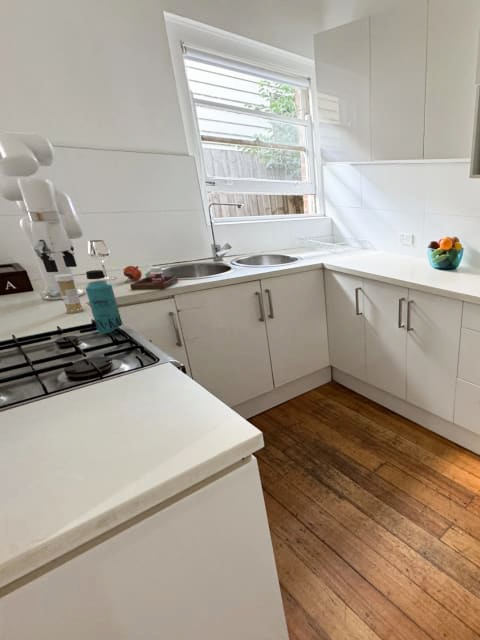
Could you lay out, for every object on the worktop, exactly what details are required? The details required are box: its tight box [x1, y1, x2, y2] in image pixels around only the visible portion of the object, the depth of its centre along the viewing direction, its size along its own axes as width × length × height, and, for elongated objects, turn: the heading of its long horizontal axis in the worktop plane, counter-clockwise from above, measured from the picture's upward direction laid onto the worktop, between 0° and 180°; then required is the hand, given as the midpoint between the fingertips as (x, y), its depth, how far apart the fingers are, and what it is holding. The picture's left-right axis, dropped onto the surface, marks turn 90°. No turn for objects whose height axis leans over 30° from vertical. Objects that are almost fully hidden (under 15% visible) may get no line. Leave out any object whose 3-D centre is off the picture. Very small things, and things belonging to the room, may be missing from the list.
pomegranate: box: [122, 265, 143, 283], centre depth 181 cm, size 7×7×10 cm
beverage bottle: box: [84, 269, 124, 334], centre depth 114 cm, size 6×7×20 cm
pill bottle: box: [149, 266, 165, 284], centre depth 170 cm, size 5×5×8 cm
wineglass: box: [87, 239, 116, 281], centre depth 181 cm, size 8×8×18 cm
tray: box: [129, 276, 179, 291], centre depth 174 cm, size 15×13×2 cm
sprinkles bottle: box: [55, 274, 84, 314], centre depth 135 cm, size 5×5×14 cm
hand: (62, 269), depth 132 cm, fingers open, 9 cm apart
